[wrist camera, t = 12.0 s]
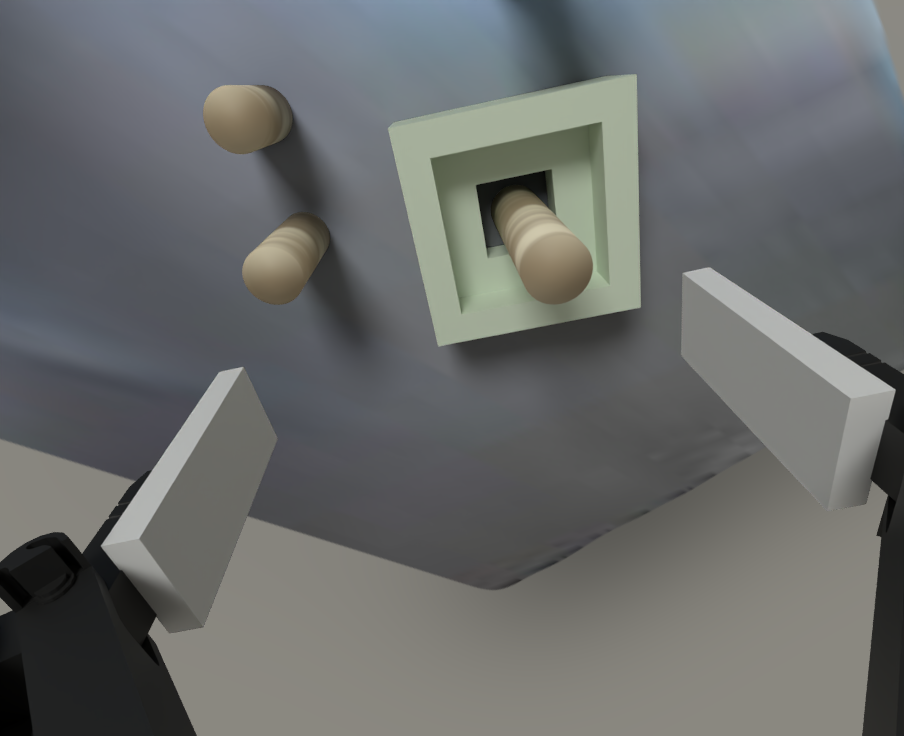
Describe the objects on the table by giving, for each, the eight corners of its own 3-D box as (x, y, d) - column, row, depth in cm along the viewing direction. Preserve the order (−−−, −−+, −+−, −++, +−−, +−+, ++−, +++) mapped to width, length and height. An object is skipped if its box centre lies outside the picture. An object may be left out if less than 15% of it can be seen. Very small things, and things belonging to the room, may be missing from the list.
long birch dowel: (487, 189, 36) (518, 243, 24) (535, 179, 36) (590, 229, 24) (494, 237, 38) (526, 310, 26) (540, 228, 38) (595, 297, 25)
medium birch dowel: (274, 217, 37) (232, 253, 29) (321, 207, 36) (291, 241, 29) (291, 263, 38) (255, 309, 30) (335, 254, 38) (311, 298, 30)
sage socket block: (393, 122, 34) (388, 128, 29) (606, 75, 33) (636, 74, 28) (437, 315, 41) (438, 346, 36) (614, 280, 40) (640, 307, 35)
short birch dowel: (230, 91, 33) (192, 92, 28) (282, 79, 33) (253, 78, 27) (250, 148, 34) (218, 159, 29) (299, 137, 34) (276, 147, 29)
